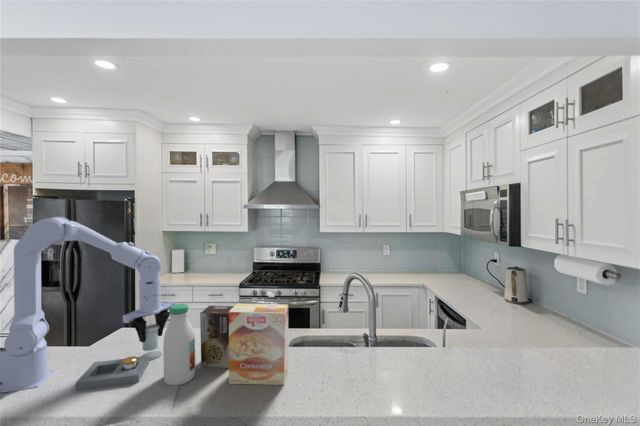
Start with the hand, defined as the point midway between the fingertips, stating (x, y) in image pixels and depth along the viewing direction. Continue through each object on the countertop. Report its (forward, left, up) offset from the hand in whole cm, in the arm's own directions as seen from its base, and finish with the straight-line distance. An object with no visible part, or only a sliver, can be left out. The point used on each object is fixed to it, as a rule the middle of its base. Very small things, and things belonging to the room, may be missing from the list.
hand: (150, 338), depth 93 cm
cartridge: (0, 0, -3) cm, 3 cm away
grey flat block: (-7, -9, -6) cm, 13 cm away
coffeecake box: (+31, -19, -6) cm, 37 cm away
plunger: (-3, -9, -5) cm, 11 cm away
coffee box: (+20, -8, -6) cm, 23 cm away
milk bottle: (+10, -14, -6) cm, 19 cm away
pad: (0, 0, -6) cm, 6 cm away
